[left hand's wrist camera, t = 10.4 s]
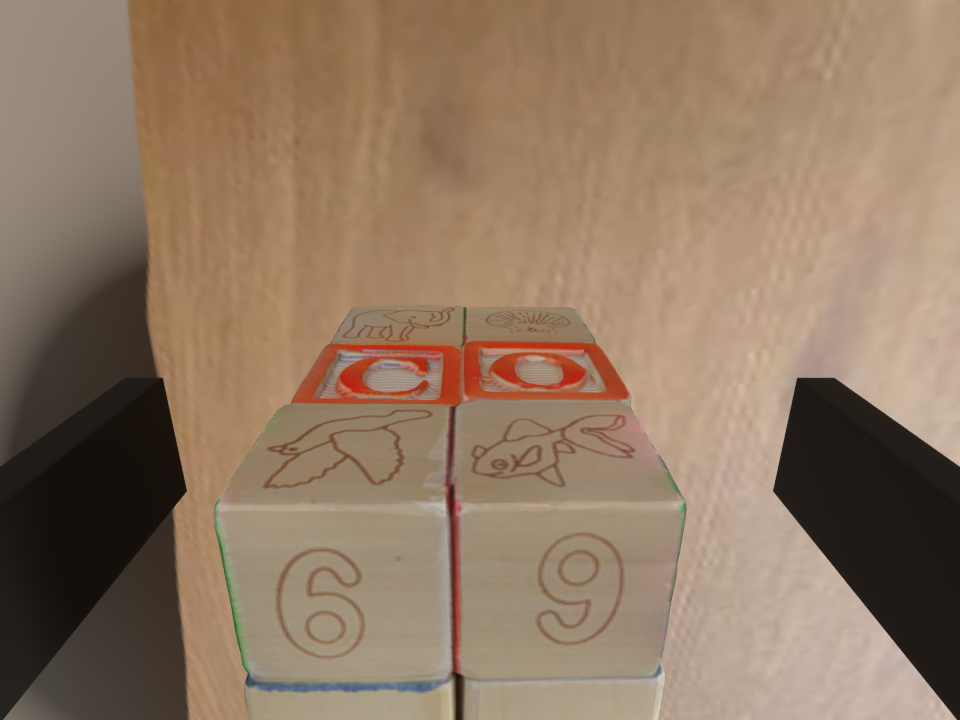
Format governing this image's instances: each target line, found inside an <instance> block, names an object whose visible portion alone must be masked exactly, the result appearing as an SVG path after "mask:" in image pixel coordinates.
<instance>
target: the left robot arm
mask: <svg viewBox="0 0 960 720" xmlns="http://www.w3.org/2000/svg"><path fill="white" fill-rule="evenodd" d="M186 492H187V489H186V485H185V480H184V475H183V471H182V466H181V461H180V457H179V452H178V447H177V442H176V438H175V433H174V428H173V424H172V419H171V414H170V410H169V405H168V400H167V396H166V391H165V386H164V381H163V378H125V379H123V380H122V381H121V382H119V383H118V384H116V385H115V386H114V387H112V388H111V389H109V390H108V391H107V392H105V393H104V394H102V395H101V396H99V397H98V398H97V399H95V400H94V401H92V402H91V403H90V404H88V405H87V406H85V407H84V408H83V409H81V410H80V411H78V412H77V413H75V414H74V415H73V416H71V417H70V418H68V419H67V420H66V421H64V422H63V423H61V424H60V425H59V426H57V427H56V428H54V429H53V430H51V431H50V432H49V433H47V434H46V435H44V436H43V437H42V438H40V439H39V440H37V441H36V442H35V443H33V444H32V445H30V446H29V447H28V448H26V449H25V450H23V451H22V452H20V453H19V454H18V455H16V456H15V457H13V458H12V459H11V460H9V461H8V462H6V463H5V464H3V465H2V466H1V467H0V720H3V719H4V718H5V716H6V715H7V714H8V713H9V712H10V710H11V709H12V708H13V706H14V705H15V704H16V703H17V702H18V700H19V699H20V698H21V697H22V695H23V694H24V693H25V692H26V690H27V689H28V688H29V687H30V685H31V684H32V683H33V682H34V680H35V679H36V678H37V677H38V675H39V674H40V673H41V672H42V671H43V669H44V668H45V667H46V666H47V664H48V663H49V662H50V661H51V659H52V658H53V657H54V656H55V654H56V653H57V652H58V651H59V649H60V648H61V647H62V646H63V644H64V643H65V642H66V641H67V639H68V638H69V637H70V636H71V634H72V633H73V632H74V631H75V630H76V628H77V627H78V626H79V625H80V623H81V622H82V621H83V620H84V618H85V617H86V616H87V615H88V613H89V612H90V611H91V610H92V608H93V607H94V606H95V605H96V603H97V602H98V601H99V600H100V598H101V597H102V596H103V595H104V593H105V592H106V591H107V590H108V589H109V587H110V586H111V585H112V584H113V582H114V581H115V580H116V579H117V577H118V576H119V575H120V574H121V572H122V571H123V570H124V569H125V567H126V566H127V565H128V564H129V562H130V561H131V560H132V559H133V557H134V556H135V555H136V554H137V552H138V551H139V550H140V549H141V548H142V546H143V545H144V544H145V543H146V541H147V540H148V539H149V538H150V536H151V535H152V534H153V533H154V531H155V530H156V529H157V528H158V526H159V525H160V524H161V523H162V521H163V520H164V519H165V518H166V516H167V515H168V514H169V513H170V511H171V510H172V509H173V508H174V507H175V505H176V504H177V503H178V502H179V500H180V499H181V498H182V497H183V495H184V494H185V493H186ZM773 492H774V493H775V494H776V495H777V497H778V498H779V499H780V500H781V502H782V503H783V504H784V505H785V507H786V508H787V509H788V510H789V511H790V513H791V514H792V515H793V516H794V518H795V519H796V520H797V521H798V523H799V524H800V525H801V526H802V528H803V529H804V530H805V531H806V533H807V534H808V535H809V536H810V538H811V539H812V540H813V541H814V543H815V544H816V545H817V546H818V548H819V549H820V550H821V551H822V552H823V554H824V555H825V556H826V557H827V559H828V560H829V561H830V562H831V564H832V565H833V566H834V567H835V569H836V570H837V571H838V572H839V574H840V575H841V576H842V577H843V579H844V580H845V581H846V582H847V584H848V585H849V586H850V587H851V589H852V590H853V591H854V592H855V593H856V595H857V596H858V597H859V598H860V600H861V601H862V602H863V603H864V605H865V606H866V607H867V608H868V610H869V611H870V612H871V613H872V615H873V616H874V617H875V618H876V620H877V621H878V622H879V623H880V625H881V626H882V627H883V628H884V630H885V631H886V632H887V633H888V634H889V636H890V637H891V638H892V639H893V641H894V642H895V643H896V644H897V646H898V647H899V648H900V649H901V651H902V652H903V653H904V654H905V656H906V657H907V658H908V659H909V661H910V662H911V663H912V664H913V666H914V667H915V668H916V669H917V671H918V672H919V673H920V674H921V675H922V677H923V678H924V679H925V680H926V682H927V683H928V684H929V685H930V687H931V688H932V689H933V690H934V692H935V693H936V694H937V695H938V697H939V698H940V699H941V700H942V702H943V703H944V704H945V705H946V707H947V708H948V709H949V710H950V712H951V713H952V714H953V715H954V716H955V718H956V719H957V720H960V467H959V466H958V465H957V464H955V463H954V462H952V461H951V460H949V459H948V458H947V457H945V456H944V455H942V454H941V453H940V452H938V451H937V450H935V449H934V448H933V447H931V446H930V445H928V444H927V443H925V442H924V441H923V440H921V439H920V438H918V437H917V436H916V435H914V434H913V433H911V432H910V431H909V430H907V429H906V428H904V427H903V426H901V425H900V424H899V423H897V422H896V421H894V420H893V419H892V418H890V417H889V416H887V415H886V414H885V413H883V412H882V411H880V410H879V409H877V408H876V407H875V406H873V405H872V404H870V403H869V402H868V401H866V400H865V399H863V398H862V397H861V396H859V395H858V394H856V393H855V392H853V391H852V390H851V389H849V388H848V387H846V386H845V385H844V384H842V383H841V382H839V381H838V380H837V379H835V378H797V381H796V386H795V391H794V396H793V400H792V405H791V410H790V414H789V419H788V424H787V428H786V433H785V438H784V442H783V447H782V452H781V457H780V461H779V466H778V471H777V475H776V480H775V485H774V489H773Z"/></svg>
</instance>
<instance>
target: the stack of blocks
mask: <svg viewBox="0 0 960 720" xmlns="http://www.w3.org/2000/svg"><path fill="white" fill-rule="evenodd" d="M686 510H687V509H686V503H685V500H684V498H683V496H682V494H681V493H680V491H679V489H678V487H677V486H676V484H675V482H674V480H673V478H672V476H671V474H670V472H669V471H668V469H667V467H666V465H665V463H664V462H663V460H662V458H661V457H660V455H659V454H658V452H657V451H656V449H655V447H654V446H653V444H652V443H651V441H650V440H649V438H648V437H647V435H646V433H645V431H644V429H643V426H642V424H641V423H640V421H639V420H638V418H637V417H636V415H635V414H634V412H633V410H632V409H631V396H630V394H629V391H628V390H627V388H626V386H625V385H624V383H623V382H622V380H621V378H620V377H619V375H618V373H617V372H616V370H615V368H614V367H613V365H612V364H611V362H610V361H609V359H608V358H607V356H606V355H605V353H604V351H603V350H602V348H601V347H600V346H598V345H597V344H596V341H595V339H594V337H593V336H592V334H591V333H590V332H589V330H588V328H587V327H586V325H585V323H584V322H583V321H582V319H581V318H580V316H579V314H578V313H577V311H576V310H575V309H574V308H527V307H468V308H465V307H460V306H433V305H394V306H364V307H355V308H353V309H352V310H351V311H350V312H349V314H348V315H347V317H346V318H345V320H344V321H343V322H342V324H341V325H340V327H339V329H338V331H337V333H336V335H335V336H334V339H333V340H332V342H331V344H329V345H327V346H325V348H324V349H323V350H322V352H321V354H320V356H319V357H318V359H317V360H316V362H315V363H314V365H313V367H312V369H311V370H310V372H309V373H308V375H307V376H306V378H305V379H304V380H303V382H302V383H301V385H300V387H299V389H298V391H297V392H296V394H295V396H294V398H293V399H292V402H291V405H285V406H283V407H282V408H280V409H278V410H277V412H276V413H275V415H274V416H273V418H272V419H271V420H270V422H269V423H268V424H267V426H266V428H265V430H264V432H263V433H262V434H261V435H260V437H259V438H258V439H257V441H256V442H255V444H254V446H253V447H252V448H251V450H250V452H249V453H248V455H247V456H246V458H245V459H244V461H243V462H242V464H241V465H240V467H239V468H238V470H237V471H236V473H235V474H234V476H233V477H232V479H231V480H230V482H229V484H228V485H227V487H226V488H225V490H224V491H223V493H222V494H221V496H220V498H219V500H218V501H217V503H216V505H215V530H216V534H217V538H218V542H219V546H220V552H221V557H222V562H223V567H224V573H225V578H226V583H227V588H228V593H229V597H230V602H231V607H232V614H233V620H234V627H235V632H236V636H237V641H238V645H239V649H240V652H241V657H242V664H243V667H244V668H245V670H246V671H247V673H248V675H247V679H246V682H245V685H244V693H245V703H246V708H247V712H248V717H249V720H658V716H659V710H660V704H661V698H662V692H663V687H664V681H665V673H664V667H663V664H662V661H661V658H662V653H663V649H664V643H665V638H666V632H667V626H668V620H669V612H670V605H671V600H672V595H673V590H674V585H675V581H676V573H677V561H678V557H679V554H680V548H681V542H682V536H683V530H684V524H685V518H686Z"/></svg>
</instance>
